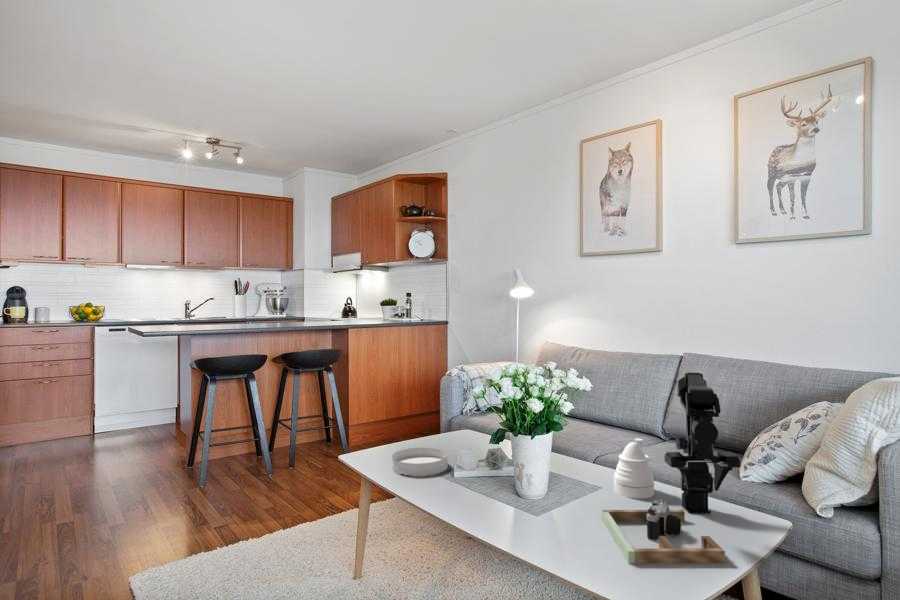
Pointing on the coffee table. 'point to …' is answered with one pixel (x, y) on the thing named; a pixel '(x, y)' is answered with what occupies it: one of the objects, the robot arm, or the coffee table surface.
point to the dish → (419, 461)
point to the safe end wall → (618, 537)
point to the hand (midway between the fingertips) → (702, 490)
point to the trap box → (666, 550)
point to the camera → (661, 521)
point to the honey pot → (634, 473)
